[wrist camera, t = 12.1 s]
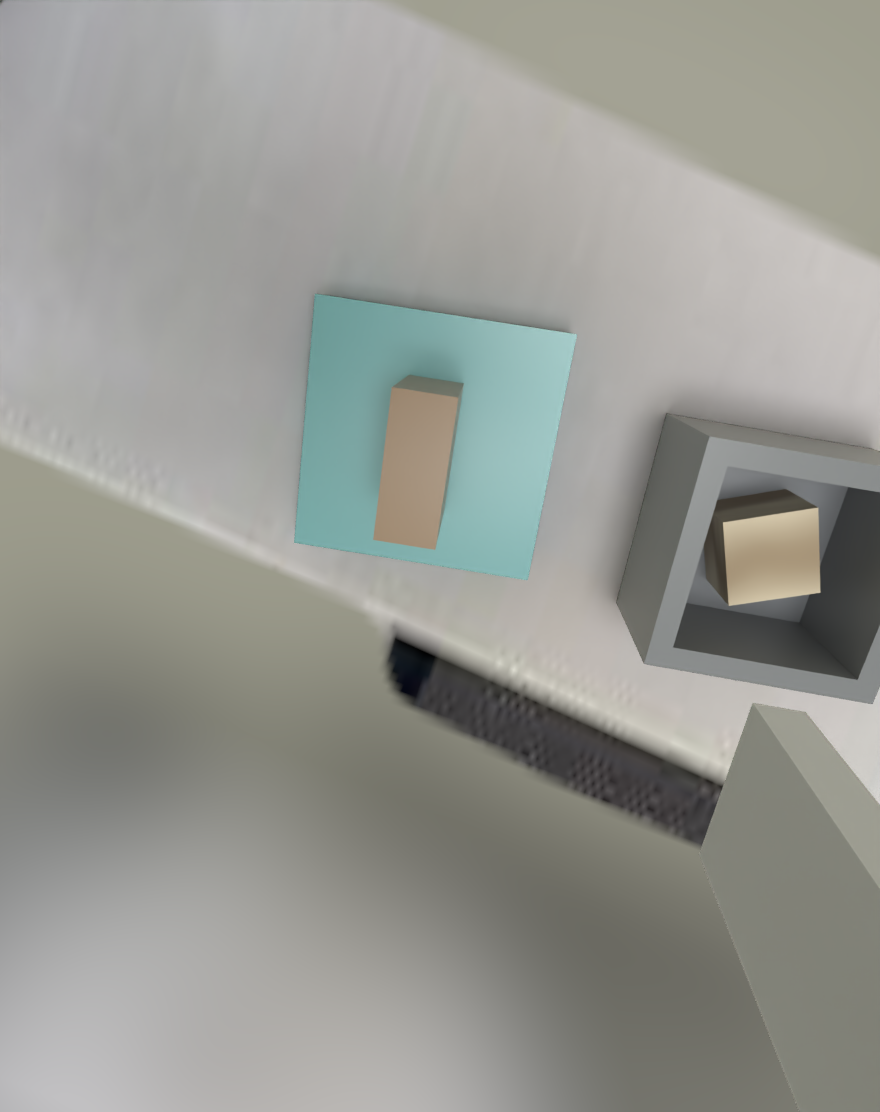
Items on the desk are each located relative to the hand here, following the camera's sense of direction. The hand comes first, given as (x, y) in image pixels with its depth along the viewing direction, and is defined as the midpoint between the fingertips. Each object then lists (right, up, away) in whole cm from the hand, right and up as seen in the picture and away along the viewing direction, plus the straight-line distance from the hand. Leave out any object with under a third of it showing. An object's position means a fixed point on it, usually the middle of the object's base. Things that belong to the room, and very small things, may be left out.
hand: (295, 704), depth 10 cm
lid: (+2, +8, +25) cm, 26 cm away
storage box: (+17, +4, +25) cm, 31 cm away
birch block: (+17, +3, +24) cm, 30 cm away
